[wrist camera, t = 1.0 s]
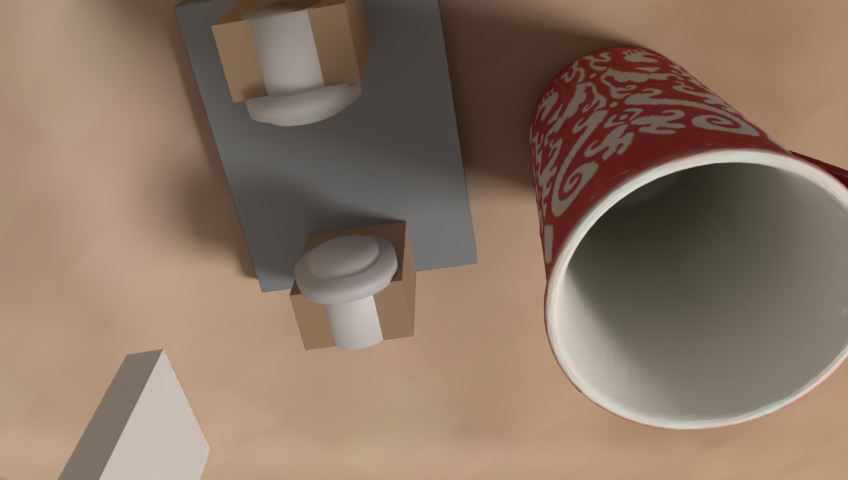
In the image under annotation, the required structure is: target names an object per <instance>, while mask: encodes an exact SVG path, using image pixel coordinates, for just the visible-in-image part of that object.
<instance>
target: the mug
mask: <svg viewBox="0 0 848 480" xmlns="http://www.w3.org/2000/svg"><path fill="white" fill-rule="evenodd" d="M530 154H531V163H532V170H533V174H534V189H535V194H536V202H537V209H538V215H539V222H540V237H541V241H542V249H543V257H544V264H545V272H546V279H547V284H546V289H545V296H544V321H545V328H546V333H547V337H548V340H549V344H550V347H551V350H552V352H553V355H554V357H555V359H556V361H557V363H558V365H559V366H560V368H561V369H562V371H563V372H564V374H565V375H566V376H567V378H568V379H569V380H570V382H571V383H572V384H573V385H574V386H575V387H576V388H577V390H578V391H579V392H581V393H582V394H583V395H585V396H586V397H587V398H588V399H589V400H591V401H592V402H594V403H595V404H596V405H598V406H599V407H601V408H603V409H605V410H606V411H608V412H610V413H612V414H614V415H617V416H619V417H621V418H624V419H627V420H629V421H632V422H635V423H639V424H643V425H647V426H652V427H658V428H662V429H677V430H697V429H710V428H719V427H724V426H730V425H734V424H738V423H742V422H746V421H750V420H753V419H756V418H759V417H762V416H764V415H767V414H770V413H772V412H774V411H777V410H780V409H782V408H784V407H785V406H787V405H789V404H791V403H792V402H794V401H796V400H798V399H799V398H801V397H803V396H804V395H806V394H807V393H809V392H810V391H812V390H813V389H814V388H816V387H817V386H818V385H820V384H821V383H822V382H823V381H824V380H826V379H827V378H828V377H829V376H830V375H831V374H832V373H833V372H834V371H835V370H836V369H837V368H838V367H839V366H840V365H841V364H842V362H843V361H844V360H845V359H846V358H847V357H848V171H847V170H844V169H842V168H839V167H836V166H833V165H830V164H828V163H825V162H822V161H819V160H817V159H814V158H811V157H808V156H805V155H802V154H799V153H796V152H792V151H789V150H787V149H785V148H784V147H783V146H782V145H780V144H779V143H778V142H777V141H775V140H774V139H773V138H772V137H770V136H769V135H768V134H766V133H765V132H764V131H763V130H761V129H760V128H759V127H758V126H756V125H755V124H753V123H752V122H750V121H749V120H748V119H746V118H745V117H744V116H743V115H742V114H741V113H739V112H738V111H737V110H735V109H734V108H733V107H731V106H730V105H729V104H727V103H726V102H725V101H724V100H722V99H721V98H720V97H719V96H718V95H716V94H715V93H714V92H712V91H711V90H710V89H708V88H707V87H706V86H704V85H703V84H702V83H701V82H699V81H698V80H697V79H696V78H695V77H693V76H692V75H691V74H690V73H689V72H687V71H686V70H685V69H684V68H683V67H681V66H680V65H678V64H677V63H676V62H674V61H673V60H671V59H669V58H668V57H666V56H663V55H661V54H659V53H657V52H654V51H651V50H648V49H644V48H638V47H614V48H608V49H603V50H600V51H596V52H593V53H591V54H589V55H586V56H584V57H582V58H580V59H578V60H576V61H575V62H573V63H572V64H571V65H569V66H567V67H566V68H564V69H563V70H562V71H561V72H560V73H559V74H558V75H557V76H556V77H555V78H554V79H553V80H552V81H551V82H550V84H549V85H548V86H547V88H546V89H545V90H544V92H543V94H542V95H541V97H540V99H539V101H538V103H537V105H536V108H535V110H534V113H533V116H532V121H531V127H530Z"/></svg>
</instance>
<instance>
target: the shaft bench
mask: <svg viewBox="0 0 848 480" xmlns="http://www.w3.org/2000/svg"><path fill="white" fill-rule="evenodd" d="M174 10H175V13H176V17H177V20H178V23H179V26H180V30H181V33H182V36H183V39H184V42H185V46H186V49H187V52H188V55H189V59H190V62H191V65H192V68H193V71H194V75H195V78H196V81H197V84H198V88H199V91H200V94H201V97H202V100H203V104H204V107H205V110H206V113H207V117H208V120H209V123H210V126H211V129H212V133H213V136H214V139H215V142H216V146H217V149H218V152H219V155H220V158H221V162H222V165H223V168H224V171H225V175H226V178H227V181H228V184H229V187H230V191H231V194H232V197H233V200H234V204H235V207H236V210H237V213H238V216H239V220H240V223H241V226H242V229H243V233H244V236H245V239H246V242H247V245H248V249H249V252H250V255H251V258H252V262H253V265H254V268H255V271H256V274H257V278H258V281H259V284H260V287H261V291H262V292H269V291H276V290H284V289H291V288H292V289H291V293H290V299H291V302H292V306H293V309H294V313H295V316H296V319H297V323H298V326H299V330H300V333H301V337H302V340H303V344H304V347H305V350H309V349H317V348H325V347H332V346H336V347H338V348H342V349H362V348H366V347H370V346H372V345H375V344H377V343H379V342H381V341H382V340H387V339H395V338H402V337H410V336H414V313H415V287H416V271H424V270H431V269H438V268H446V267H453V266H460V265H468V264H475V263H477V253H476V246H475V240H474V233H473V226H472V220H471V213H470V207H469V200H468V193H467V187H466V180H465V173H464V167H463V160H462V154H461V147H460V140H459V134H458V127H457V121H456V114H455V107H454V101H453V94H452V87H451V81H450V74H449V68H448V61H447V54H446V48H445V41H444V34H443V28H442V21H441V15H440V8H439V1H438V0H191V1H185V2H181V3H179V4H178V5H177V6H175V7H174Z"/></svg>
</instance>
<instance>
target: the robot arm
mask: <svg viewBox="0 0 848 480" xmlns="http://www.w3.org/2000/svg"><path fill="white" fill-rule="evenodd" d="M209 452H210V449H209V447H208V445H207V442H206V440H205V438H204V436H203V434H202V432H201V429H200V427H199V425H198V423H197V421H196V419H195V416H194V414H193V412H192V410H191V408H190V406H189V403H188V401H187V399H186V397H185V395H184V393H183V391H182V388H181V386H180V384H179V382H178V380H177V378H176V375H175V373H174V371H173V369H172V367H171V365H170V362H169V360H168V358H167V356H166V354H165V352H164V349H161V350H155V351H149V352H142V353H136V354H130V355H126V357H125V359H124V361H123V363H122V364H121V366H120V368H119V370H118V372H117V373H116V375H115V377H114V379H113V381H112V383H111V384H110V386H109V388H108V390H107V392H106V393H105V395H104V397H103V399H102V401H101V402H100V404H99V406H98V408H97V410H96V411H95V413H94V415H93V417H92V419H91V421H90V422H89V424H88V426H87V428H86V430H85V431H84V433H83V435H82V437H81V439H80V440H79V442H78V444H77V446H76V448H75V449H74V451H73V453H72V455H71V457H70V459H69V460H68V462H67V464H66V466H65V468H64V469H63V471H62V473H61V475H60V477H59V478H58V480H200V478H201V475H202V472H203V469H204V467H205V464H206V461H207V458H208V455H209Z"/></svg>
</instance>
